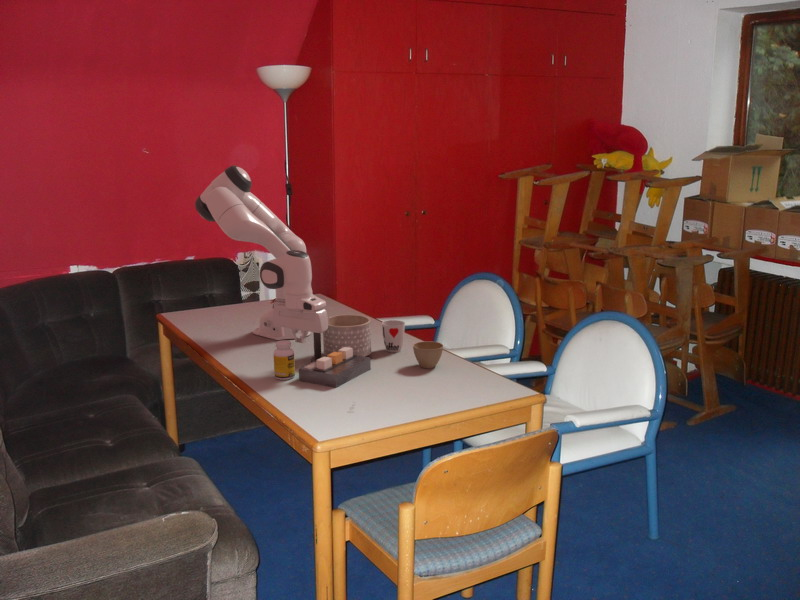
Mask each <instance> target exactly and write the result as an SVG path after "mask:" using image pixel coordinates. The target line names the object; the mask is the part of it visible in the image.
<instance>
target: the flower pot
mask: <svg viewBox="0 0 800 600" xmlns="http://www.w3.org/2000/svg"><path fill="white" fill-rule="evenodd" d="M412 348H413V353H414V357H415V359H416V362H417V363H418V365H419V366H420V367H421V368H424V369H433V368H435V367H436V366H437V365H438V364H439V361H440V359H441V357H442V354H443V350H444V344H443V343H441V342H438V341H431V340H430V341H429V340H428V341H427V340H426V341H425V340H424V341H418V342H415V343H413V344H412Z"/></svg>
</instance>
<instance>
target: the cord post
mask: <svg viewBox="0 0 800 600" xmlns="http://www.w3.org/2000/svg"><path fill="white" fill-rule="evenodd" d="M312 333H313V355H314V356H313V358H311V359H310V363H312V362H314V361H316V360H318V359H320V358H322V357H323V356H322V337H321V336H322V335H321V334H322V333H316V332H312Z"/></svg>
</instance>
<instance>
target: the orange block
mask: <svg viewBox="0 0 800 600" xmlns="http://www.w3.org/2000/svg"><path fill="white" fill-rule="evenodd" d="M328 357H329V358H332V364H337V363H340V362H342V361H343V356H342V353H340V352H333V353H331V354H328Z"/></svg>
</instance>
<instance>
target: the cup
mask: <svg viewBox="0 0 800 600" xmlns="http://www.w3.org/2000/svg"><path fill="white" fill-rule="evenodd" d="M405 327H406V325H405V322H404V321H403V320H395V319H393V320H392V319H391V320H389V319H388V320H385V321H382V322H381V328H382V329H381V330H382V337H383V338H382V339H383V343H384V346H385V350H386V352H388V353H399V352H401V350H402V348H403V344H404V338H405V331H406V330H405Z"/></svg>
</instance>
